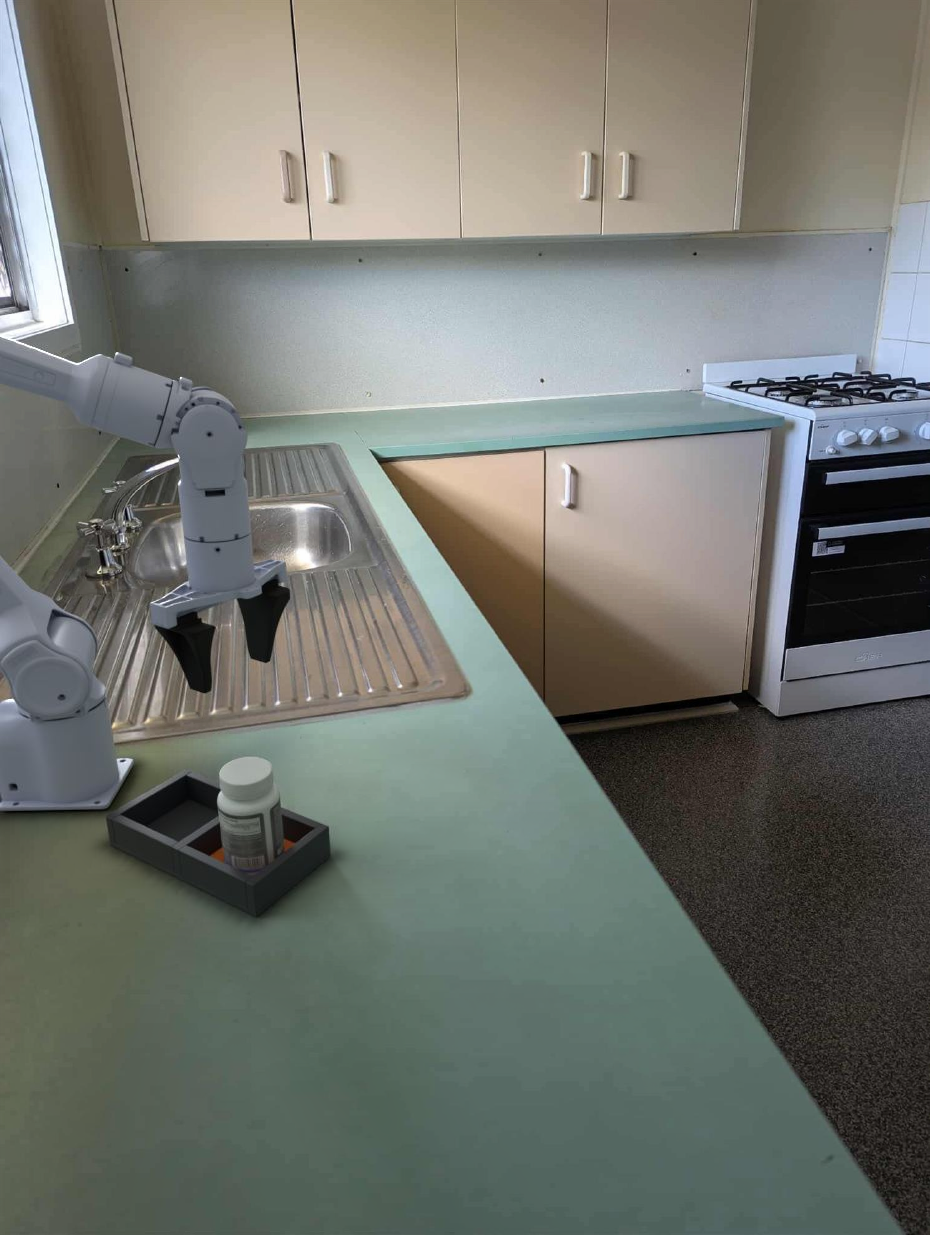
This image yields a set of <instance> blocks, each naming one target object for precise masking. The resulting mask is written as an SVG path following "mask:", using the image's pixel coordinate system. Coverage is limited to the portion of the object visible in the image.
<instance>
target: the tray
mask: <svg viewBox="0 0 930 1235" xmlns="http://www.w3.org/2000/svg"><path fill="white" fill-rule="evenodd" d="M220 791H221V788H220V781H217V780H215V779H212V778H210V777H207V776H205V775H202V774H200V773H198V772H195V771H193V770H190V769H188V768H186V769H184V770H182V771H180V772H179V773H176V774H175V775H173V776H172V777H170V778H168V779H167V780H165V781H163V782H162V783H160V784H158V785H156V786H154V787H153V788H151V789H149V790H148V791H146V792H144V793H142V794H141V795H139V796H137V797H135V798H134V799H132V800H131V801H129V802H127V803H125V804H124V805H122V806H120V807H119V808H116V809H115V810H113V811H112V812H110V813H109V814H106V815H105V820H106V827H107V834H108V838H109V845H110V846H111V847H113V848H115V849H117V850H118V851H121V852H122V853H125V854H127V855H129V856H131V857H133V858H135V859H137V860H139V861H141V862H143V863H145V864H147V865H149V866H151V867H153V868H155V869H157V870H160V871H161V872H163V873H166V874H167V875H169V876H171V877H174V878H175V879H178V880H180V881H182V882H183V883H185V884H188V885H189V886H192V887H194V888H195V889H198V890H200V891H202V892H204V893H206V894H208V895H210V896H211V897H214V898H216V899H218V900H221V901H222V902H224V903H226V904H227V905H230V906H233V907H234V908H236V909H239V910H240V911H243V912H244V913H247V914H249V915H250V916H253V917H255V918H258V916H260V915H261V914H262V913H264V911H265V910H267V909H268V908H269V907H270V906H272V905H273V904H275V903H276V902H277V901H278V900H279V899H281V898H282V897H283V896H284V895H285V894H287V892H289V891H291V889H293V888H294V887H295V886H296V885H298V883H300V882H301V881H302V880H304V879H305V878H306V877H307V876H309V874H311V873H312V872H313V871H314V870H316V869H317V868H318V867H319V866H321V865H322V864H323V863H324V862H325V861H327V860H328V859H329V858H330V857H331V855H332V854H331V839H330V838H331V837H330V836H331V835H330V826H329V825H326V824H324V823H321V822H319V821H316V820H315V819H312V818H309V817H307V816H304V815H302V814H299V813H297V812H294V811H292V810H289V809H287V808H284V807H282V806H281V813H282V824H283V836H284V848H285V852H284V853H283V854H281V855H280V856H279V857H277V858H276V859H275V860H273V861H272V862H271V863H270V864H268V865H267V866H266V867H264V868H263V869H262V870H260V871H259V872H258V873H256V874H255V875H254V876H251V875H249V874H247V873H245V872H243V871H241V870H238V869H236V868H234V867H232V866H230V865H228V864H225V862H224V853H223V846H222V839H221V828H220V821H219V813H218V806H217V799H218V795H219V793H220Z"/></svg>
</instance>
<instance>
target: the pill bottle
mask: <svg viewBox="0 0 930 1235" xmlns="http://www.w3.org/2000/svg"><path fill="white" fill-rule="evenodd" d="M218 776H219V778H218V779H219V782H220V788H221V791H220V793H219V795H218V799H217V806H218V813H219V821H220V828H221V839H222V846H223V853H224V862H225V864H228V865H230V866H232V867H234V868H236V869H238V870H241V871H243V872H245V873H247V874H249V875H251V876H254V875H255V874H256V873H258V872H259V871H260V870H262V869H263V868H264V867H266V866H267V865H268V864H270V863H271V862H272V861H273V860H275V859H276V858H277V857H279V856H280V855H281V854H283V853H284V852H285V848H284V836H283V824H282V813H281V807H282V805H281V793H280V789H279V786H277V784H276V783H275V781H274V777H275V776H274V769H273V765H272V764H271V762H270V761H269V760H267V759H265V758H262V757H260V756H259V757H258V756H244V757H239V758H235V759H233V760H230V761H229V762H227V763H225V764H224V765H223V766H222V767H221V768H220V770H219V773H218Z"/></svg>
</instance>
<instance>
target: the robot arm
mask: <svg viewBox="0 0 930 1235" xmlns="http://www.w3.org/2000/svg"><path fill="white" fill-rule="evenodd" d="M132 364H133V357H132V356H129V355H127V354H124V353H121V352H115V353H114V357H113V358H112V357H110V356H106V355H104V354H96V355H94V356H92V357H89V358H88V359H85V360H83V361H82V362H77V363H76V362H73V361H70V360H68V359H65V358H62V357H60V356H58V355H54V354H53V353H52V354H51V353H49V352H46V351H45V350H41V349H39V348H36V347H34V346H31V345H28V344H26V343H23V342H20V341H17V340H15V339H12V338H9V337H7V336H4V335H1V334H0V385H4V386H7V387H10V388H14V389H17V390H21V391H24V392H28V393H31V394H34V395H38V396H42V397H45V398H49V399H52V400H55V401H58V402H63V403H64V404H66V405H67V406H68V407H69V408H70V410H71V412H72V413H73V415H74V417H75V418H76V420H77V422H78V423H79V424H80V425H82V426H84V427H87V428H92V429H95V430H97V431H100V432H104V433H108V434H109V435H113V436H116V437H120V438H123V439H126V440H130V441H133V442H135V443H138V444H142V445H145V446H148V447H151V448H154V449H157V450H162V449H167V448H170V449H171V448H172V449H174V451H175V452H176V454H177V456H178V465H179V466H178V467H179V475H180V479H179V481H178V483H177V490H178V498H179V509H180V516H181V517H180V518H181V525H182V526H181V527H182V532H183V541H184V542H183V544H184V552H185V560H186V568H187V569H186V570H187V577H188V580H187V581H185V582H184V583H183V584H181V585H179V586H178V587H176V588H175V589H174V590H172V591H170V592H169V593H167V594H166V595H164V596H162V597H161V598H159V599H156V600H154V601H152V602H150V603H149V608H150V616H151V624H152V625H153V626H154V629H155V630H156V631H157V633H158V634H159V635H160V636H161V637H162V638H163V639H164V641H165V642H166V644H168V646H169V648H170V649H171V650H172V652H173V654H174V656H175V657H176V659H177V661H178V663H179V665H180V667H181V670H182V672H183V675H184V676H185V679H186V682H187V685H188V687H189V689H190V690H192V691H196V692H199V693H201V694H208V693H210V692H211V691H212V688H213V673H212V672H213V671H212V646H213V641H214V636H215V632H216V629H217V627H216V626H215V625H213V624H209V623H205V622H203V618H202V617H199V613H202V612H204V611H208V610H209V609H212V608H214V607H216V606H219V605H222V604H224V603H227V602H229V601H233V600H236V601H237V604H238V607H239V610H240V613H241V617H242V621H243V624H244V625H243V626H244V632H245V640H246V647H247V652H248V655H249V659H250V660H254V661H257V662H260V663H263V664H267V663H269V662H271V659H272V654H273V649H274V644H275V640H276V635H277V631H278V627H279V624H280V621H281V618H282V616H283V614H284V611H285V609H286V607H287V605H288V603H289V602H290V600H291V589H290V588H289V587H287V586H283V585H280V584H282V583H284V582H287V581H288V574H287V561H284V560H279V559H274V558H267V559H265V560H261V561H257V562H254V550H253V540H252V527H251V513H250V501H249V500H250V499H249V489H248V482H247V479H246V477H245V476H244V473H245V470H246V467H245V466H246V465H245V460H244V457H243V454H244V451H245V450H246V447H247V443H248V436H249V434H248V431H247V430H245V424H244V422H243V418H242V417H241V416H240V414H239V413H238V411H237V409H236V407H235V405H234V404H233V403H232V402H231V401H230V400H229V399H228V397H226V396H225V395H222V394H221V393H218V392H216V391H215V390H213V389H212V388H211V387H209V386H196V387H193V386H194V382H193V380H192V379H189V378H186V377H183V376H180V378H179V381H177V380H174V379H172V378H169V377H166V376H163V375H160V374H158V373H155V372H151V371H150V370H146V369H144V368H140V367H138V366H134V365H132ZM98 649H99V640H98V636H97V633H96V631H95V630H94V629H93V627H92V626H91V624H90V623H88V622H87V621H86V620H85V619H83V618H82V617H80V616H78V615H76V614H72V613H70V612H68V611H66V610H64V609H63V608H61V607H60V606H58V604H56V603H55V600H53V599H52V598H51V597H50V596H48V595H46V594H44V593H41V592H40V591H38V590H37V591H36V590H35V589H32V588H31V587H30V586H29V585H28V584H27V583H26V582H25V581H24V580H23V579H22V577H21V576H20V575H19V574H18V573H17V572H16V571H15V570H14V569H13V568H12V567H11V565H9V563H8V562H7V561H5V559H4V558H3V557H2V556H1V555H0V672H1V674H2V675H3V677H4V678H5V680H6V682H7V685H8V689H9V693H10V696H11V698H8V699H3V700H2V701H1V702H0V797H1V801H0V811H1V812H13V811H14V812H16V811H17V812H19V811H20V812H21V811H24V812H25V811H68V810H69V811H71V810H72V811H73V810H74V811H75V810H79V811H81V810H106V809H108V808H109V807H110V806H111V804H112V803H113V801H114V799H115V798H116V796H117V794H118V792H119V791H120V789H121V787H122V785H123V783H124V782H125V780H126V778H127V777H128V775H129V773H130V772H131V770H132V768H133V766H134V764H135V760H134V759H133V758H118V757H117V752H116V746H115V739H114V733H113V726H112V721H111V714H110V706H109V702H108V694H107V689H106V686H105V684H104V683H103V682H102V681H101V680H100V679H99V678H98V677H96V674H95V673H94V672H93V671H94V667H95V666H94V665H95V660H96V657H97V654H98Z"/></svg>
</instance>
